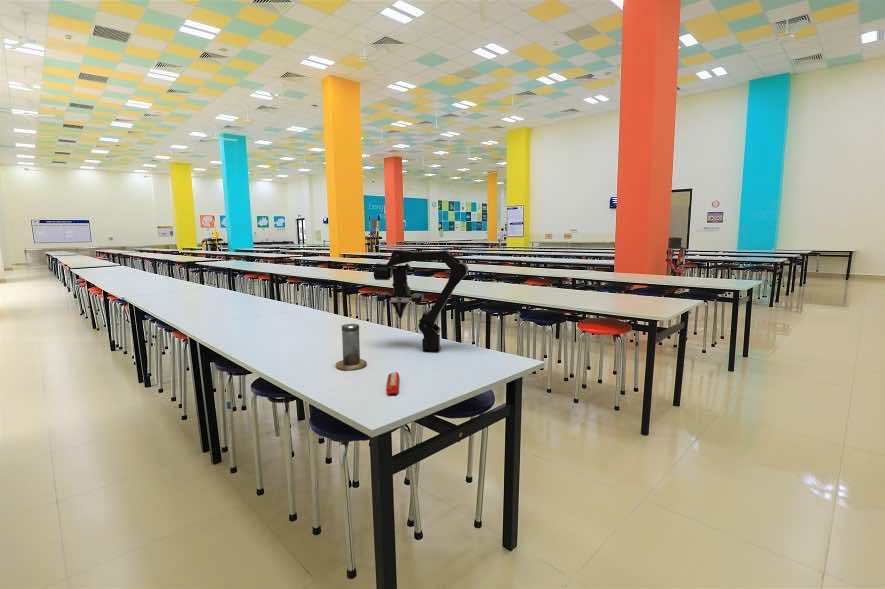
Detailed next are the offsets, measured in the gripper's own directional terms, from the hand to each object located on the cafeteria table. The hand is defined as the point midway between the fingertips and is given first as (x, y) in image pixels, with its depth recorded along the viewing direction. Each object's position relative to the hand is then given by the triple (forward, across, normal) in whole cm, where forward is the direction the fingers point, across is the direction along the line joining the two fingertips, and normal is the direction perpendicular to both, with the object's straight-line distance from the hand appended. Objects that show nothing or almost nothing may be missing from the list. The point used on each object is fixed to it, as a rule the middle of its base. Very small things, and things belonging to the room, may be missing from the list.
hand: (400, 318), depth 176 cm
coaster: (+13, +12, +25) cm, 31 cm away
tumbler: (+12, +12, +25) cm, 30 cm away
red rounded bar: (+14, -9, +43) cm, 46 cm away
